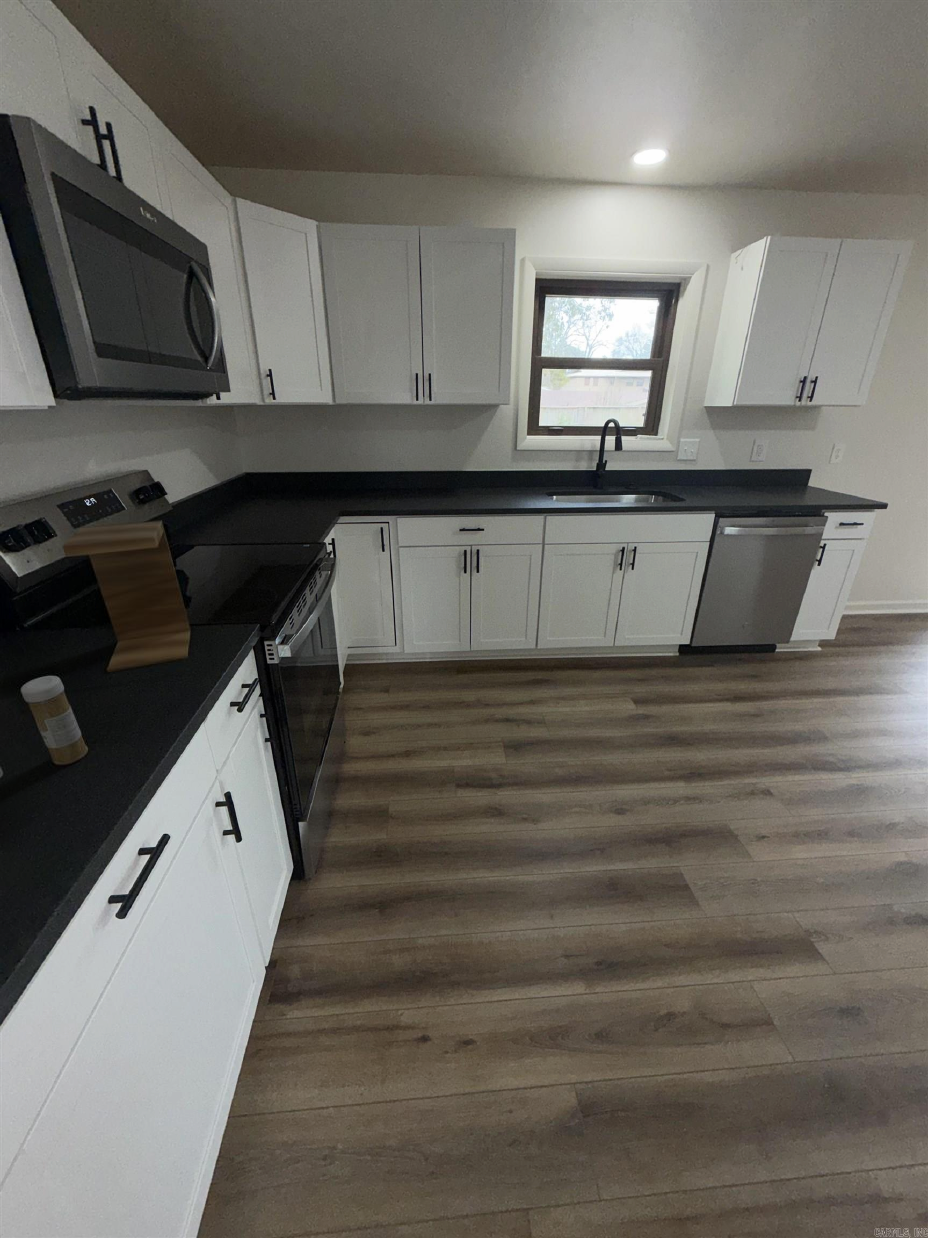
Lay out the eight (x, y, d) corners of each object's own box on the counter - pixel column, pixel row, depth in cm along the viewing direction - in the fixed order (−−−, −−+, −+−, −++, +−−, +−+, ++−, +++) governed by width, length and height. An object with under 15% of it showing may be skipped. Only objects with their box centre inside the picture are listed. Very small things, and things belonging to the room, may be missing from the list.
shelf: (189, 664, 102) (154, 536, 91) (109, 678, 97) (62, 545, 86) (192, 636, 114) (161, 520, 103) (121, 647, 109) (81, 527, 97)
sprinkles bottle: (51, 756, 77) (18, 682, 71) (86, 743, 80) (57, 671, 74) (55, 771, 74) (21, 695, 68) (91, 757, 77) (61, 683, 71)
